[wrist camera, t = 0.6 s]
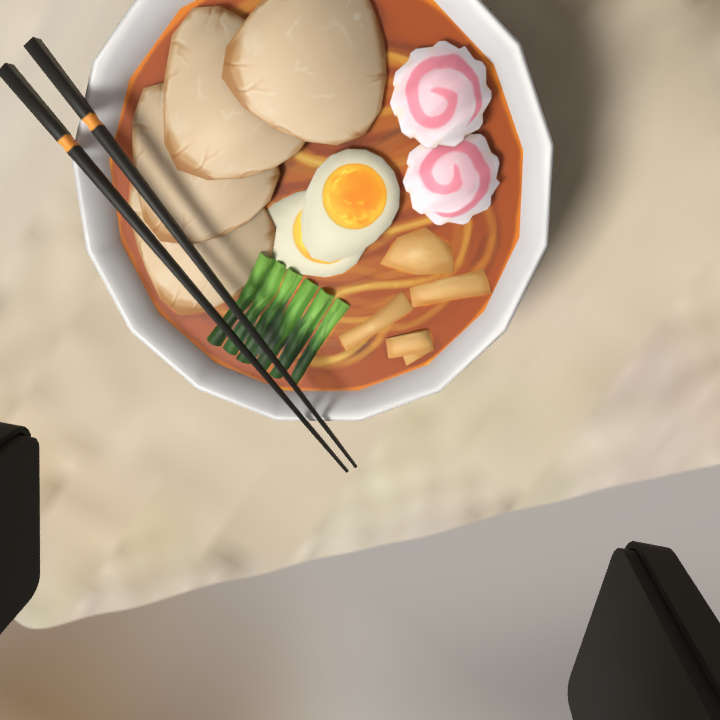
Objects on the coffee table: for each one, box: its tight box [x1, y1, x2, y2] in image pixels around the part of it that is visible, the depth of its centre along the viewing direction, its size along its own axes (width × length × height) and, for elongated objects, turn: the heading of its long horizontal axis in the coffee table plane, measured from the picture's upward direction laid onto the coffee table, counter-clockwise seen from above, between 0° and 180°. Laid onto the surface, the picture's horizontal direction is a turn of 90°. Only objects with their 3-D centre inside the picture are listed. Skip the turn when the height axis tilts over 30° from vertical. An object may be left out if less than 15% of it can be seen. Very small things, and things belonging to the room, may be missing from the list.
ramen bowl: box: [0, 0, 554, 473], centre depth 33 cm, size 25×23×8 cm
